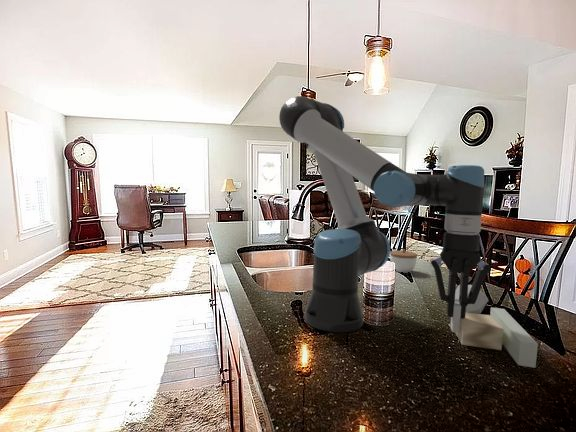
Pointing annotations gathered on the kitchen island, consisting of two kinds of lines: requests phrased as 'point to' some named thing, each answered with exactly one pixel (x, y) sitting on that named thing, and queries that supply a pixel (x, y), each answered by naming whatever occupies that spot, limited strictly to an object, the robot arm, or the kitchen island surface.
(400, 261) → the lidded jar
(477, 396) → the kitchen island surface
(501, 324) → the sage board
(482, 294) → the grey faceted block
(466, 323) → the beech block
